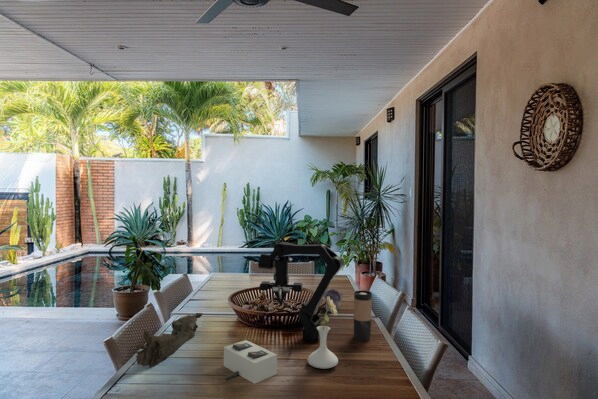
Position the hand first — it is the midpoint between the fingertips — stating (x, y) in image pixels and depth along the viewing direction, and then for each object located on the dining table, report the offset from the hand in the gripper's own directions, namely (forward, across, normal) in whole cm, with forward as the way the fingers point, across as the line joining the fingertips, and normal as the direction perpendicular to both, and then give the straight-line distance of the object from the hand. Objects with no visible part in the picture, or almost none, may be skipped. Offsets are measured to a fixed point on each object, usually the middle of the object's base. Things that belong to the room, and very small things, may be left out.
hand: (281, 305), depth 176 cm
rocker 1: (+6, +10, +32) cm, 34 cm away
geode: (+13, -23, -44) cm, 51 cm away
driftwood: (+13, +40, +20) cm, 47 cm away
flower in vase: (+13, -20, +27) cm, 36 cm away
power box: (+13, +8, +37) cm, 40 cm away
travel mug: (+13, -36, -1) cm, 38 cm away
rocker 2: (+6, +3, +38) cm, 39 cm away
